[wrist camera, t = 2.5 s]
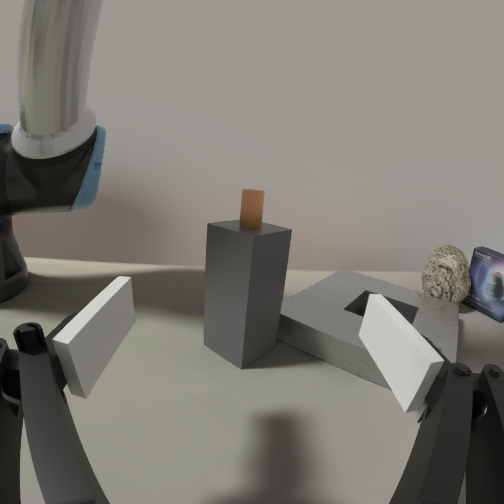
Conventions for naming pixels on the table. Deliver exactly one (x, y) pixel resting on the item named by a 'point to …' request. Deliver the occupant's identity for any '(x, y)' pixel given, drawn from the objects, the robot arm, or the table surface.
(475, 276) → the small box
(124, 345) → the table surface
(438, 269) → the stone
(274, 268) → the plug
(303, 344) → the socket
